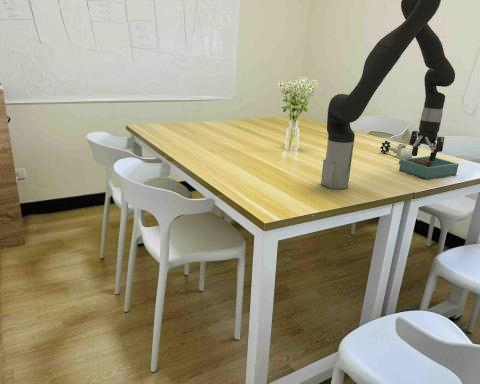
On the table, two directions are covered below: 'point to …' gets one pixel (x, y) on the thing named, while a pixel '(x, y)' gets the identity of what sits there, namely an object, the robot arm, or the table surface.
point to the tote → (429, 168)
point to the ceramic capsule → (405, 153)
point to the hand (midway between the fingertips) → (422, 158)
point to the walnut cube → (423, 162)
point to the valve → (395, 149)
